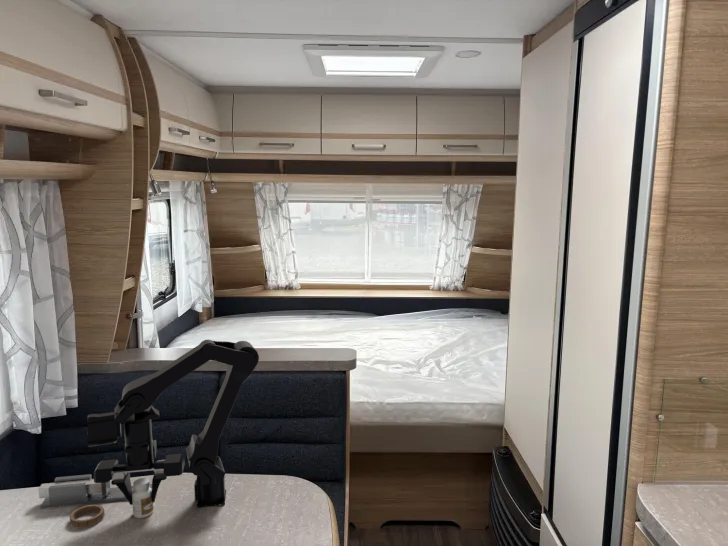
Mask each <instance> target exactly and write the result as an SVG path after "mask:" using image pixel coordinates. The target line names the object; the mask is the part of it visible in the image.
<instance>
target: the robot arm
mask: <svg viewBox="0 0 728 546" xmlns="http://www.w3.org/2000/svg"><path fill="white" fill-rule="evenodd" d="M259 360H260V356H259V353H258V351H257V350H256V349H255V347H254V346H253V345H252V344H251V343H250V342H248V341H247V340H239V341H237V342H232V341H225V340H224V341H223V340H222V341H221V340H211V339H204V340H202V341H201V342H200V343H199V344H198V345H197V346H194V347H193V348H192V349H190V350H189V351H187V352H185V353H183V354H182V355H181V356H179V357H177V358H176V359H175V360H173V361H172V362H170V363H169V364H167V365H165V366H164V367H162V368H161V369H159V370H157V371H155V372H154V373H151V374H148V375H144V376H141V377H139V378H136V379H134V380H132V381H129V382H128V383H127V384H126V385H125V386H124V387H123V389H122V394H121V399H120V400H119V401H118V403H117V404H116V406H115V407H114V411H111V412H105V413H90V414H88V415H87V418H86V419H87V431H86V432H87V433H86V441H87V447H89V448H90V447H96V446H101V445H109V444H116V443H117V441H119V438H122V424H123V430H124V431H123V432H124V445H123V446H124V451H123V452H124V453H125V460H126V463H125V464H124V463H123V464H119V461H118V459H106V460H105V459H104V460H100V462H98V464H97V465H96V467H95V470H94V471H93V479H94V482H95V483H104V482H109V481H111V482H110V485H113V486H116V487H118V488H119V489H120V490H121V491H122V493H123V494H124V496H125V497H126V499H127V500H126V501H127V502H128V503H129V505H130V506H133V504H132V487H131V486H132V482H131V481H132V480H131V473H141V472H151V471H153V476H152V479H151V484H152V503H153V504H154V503H155V501H156V499H157V495H158V491H159V487H160V485H161V482H162V481H165V480H166V479H168V477H175V476H180V475H183V473H184V469H185V465H186V461H185V459H186V458H185V455H184V454H183V453H174V454H171V453H170V454H166V456H165V459H161V460H160V459H159V460H157V461H154V459H156V457H157V440H155V439H153V429H152V428H153V427H152V420H156V419H159V418H160V411H159V410H158V409H157V408H155V407H154V406H153V404H154V403H155V402H156V401H157V399H159V397H160V396H161V395H162V393H164V392H165V391H166V390H167V389H168V388H170V387H171V386H173V385H175V384H176V383H178V382H179V381H181V380H182V379H184V378H185V377H186V376H188V375H189V374H191V373H192V372H195V370H197V369H199V368H200V367H201V366H203V365H204V364H206V363H208V362H209V361H212V362H218V363H222V364H226V370H225V371H226V374H225V377H224V380H223V382H222V384H221V387H220V389H219V391H218V394H217V396H216V399H215V400H214V401H215V402H214V403H213V406H212V409H211V411H210V413H209V416H208V418H207V421H206V423H205V425H204V428H203V429H202V431H201V432H200V433H199V434H198V435H197V434H194V433H193V434H192V435H191V438H190V442H189V443H188V446H187V447H186V448H185V450H186V455H187V456H186V457H187V461H188V467H189V470H190V472H191V473H192V474H193V476H196V479H195V480H194V486H193V487H194V489H193V490H194V501H195V502H196V507H197V508H205V507H213V506H214V507H215V506H222V505H225V504H226V500H227V499H226V497H227V489H226V481H225V480H226V476H225V475H226V471H225V469H224V466H223V462H222V460H221V457H220V456H218V455H219V445H220V439H221V436H222V434H223V431H224V429H225V427H226V424H227V423H228V419H229V418H230V415H231V412H232V410H233V407H234V405H235V403H236V400H237V398H238V396H239V393H240V390H241V388H242V385H243V384H244V383H245V382H246V381H247V380H248V379H249V377H250V376H251V375H252V374H253V373H254V370H255V369H256V367H257V366H258V363H259Z"/></svg>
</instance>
